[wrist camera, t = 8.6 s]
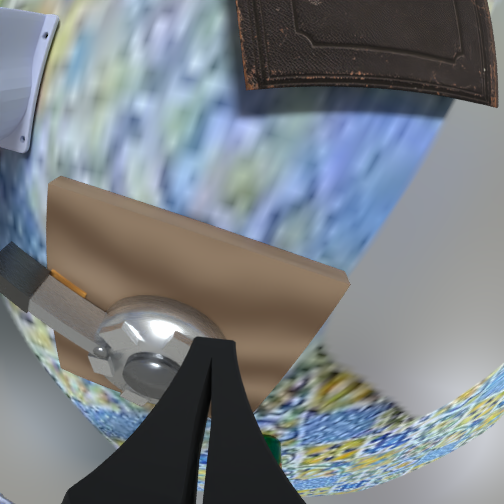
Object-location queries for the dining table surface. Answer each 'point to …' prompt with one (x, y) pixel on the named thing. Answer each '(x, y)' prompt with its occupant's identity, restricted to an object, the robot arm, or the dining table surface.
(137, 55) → the dining table surface
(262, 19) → the hardcover book
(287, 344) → the walnut board
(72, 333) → the silver mechanical part
